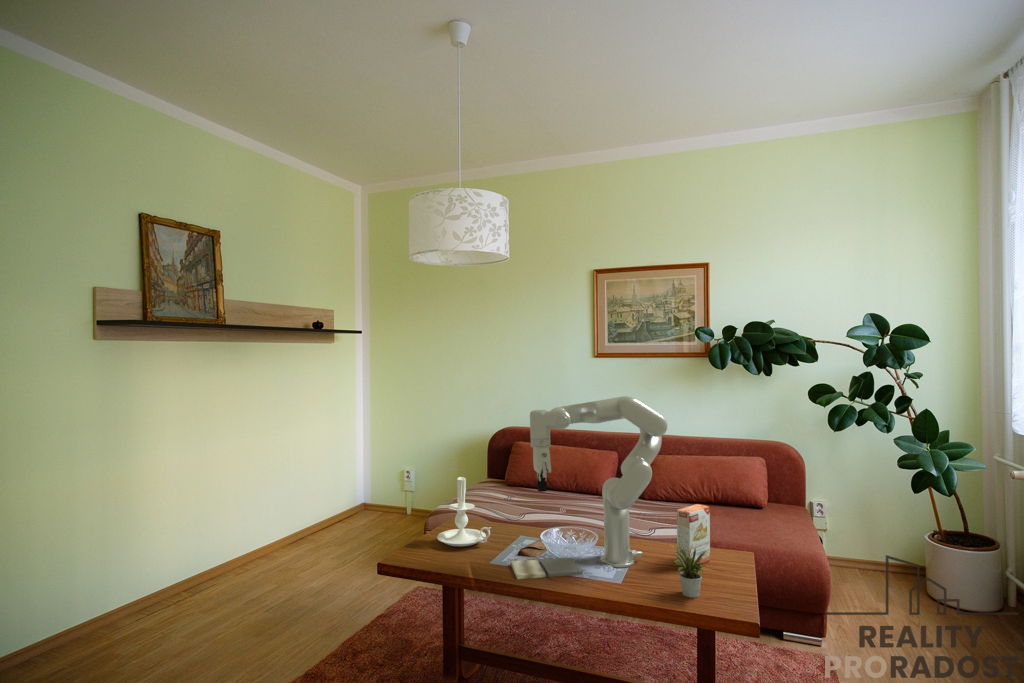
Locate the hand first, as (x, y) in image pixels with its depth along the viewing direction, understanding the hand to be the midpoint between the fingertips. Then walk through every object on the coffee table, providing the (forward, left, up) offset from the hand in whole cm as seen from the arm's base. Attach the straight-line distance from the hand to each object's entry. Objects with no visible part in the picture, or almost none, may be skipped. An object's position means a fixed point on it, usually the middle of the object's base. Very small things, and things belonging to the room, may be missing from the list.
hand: (542, 490), depth 212 cm
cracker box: (-56, +10, -28) cm, 64 cm away
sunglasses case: (-1, -12, -28) cm, 31 cm away
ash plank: (+7, +8, -27) cm, 29 cm away
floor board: (-5, +8, -28) cm, 29 cm away
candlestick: (+27, -29, -28) cm, 48 cm away
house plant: (-40, +35, -28) cm, 60 cm away
